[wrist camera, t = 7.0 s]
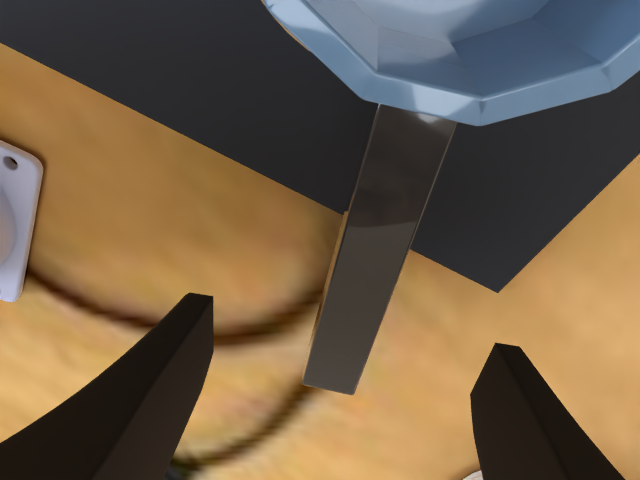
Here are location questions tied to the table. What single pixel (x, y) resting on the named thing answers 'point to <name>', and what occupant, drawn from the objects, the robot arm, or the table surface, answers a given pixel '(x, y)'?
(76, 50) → the desk mat
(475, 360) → the table surface
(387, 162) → the pot
